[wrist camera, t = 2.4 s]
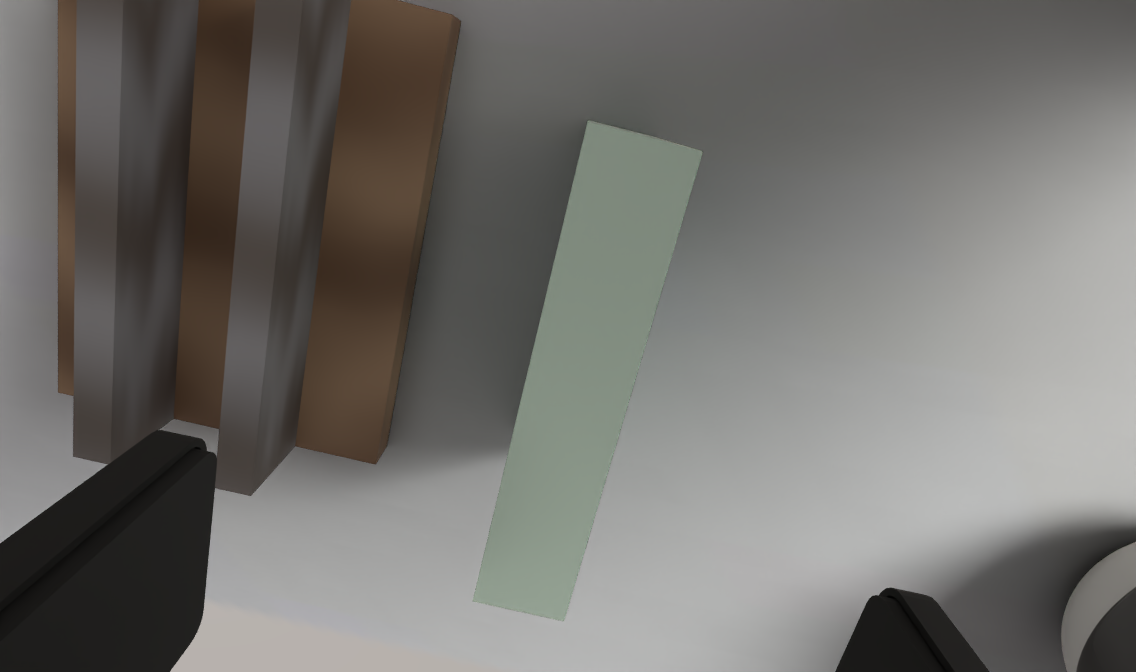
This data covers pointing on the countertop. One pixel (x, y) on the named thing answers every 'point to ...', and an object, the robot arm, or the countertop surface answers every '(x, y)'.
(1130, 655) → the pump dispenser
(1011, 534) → the countertop surface
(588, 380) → the door panel
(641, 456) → the countertop surface
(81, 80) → the track board
